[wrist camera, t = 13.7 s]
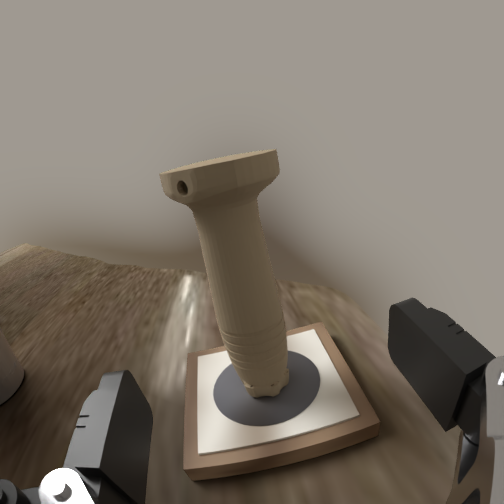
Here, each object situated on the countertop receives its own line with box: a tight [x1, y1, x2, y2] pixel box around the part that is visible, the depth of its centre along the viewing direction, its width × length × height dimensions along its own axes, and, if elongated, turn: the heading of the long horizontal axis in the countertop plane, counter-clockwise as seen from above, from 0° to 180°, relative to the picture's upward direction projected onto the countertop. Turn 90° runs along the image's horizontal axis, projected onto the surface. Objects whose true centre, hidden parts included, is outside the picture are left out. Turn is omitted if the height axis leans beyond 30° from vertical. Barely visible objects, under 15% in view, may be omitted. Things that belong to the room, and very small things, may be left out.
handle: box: [159, 149, 289, 398], centre depth 18 cm, size 5×6×15 cm
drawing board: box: [183, 322, 380, 481], centre depth 21 cm, size 12×12×2 cm
